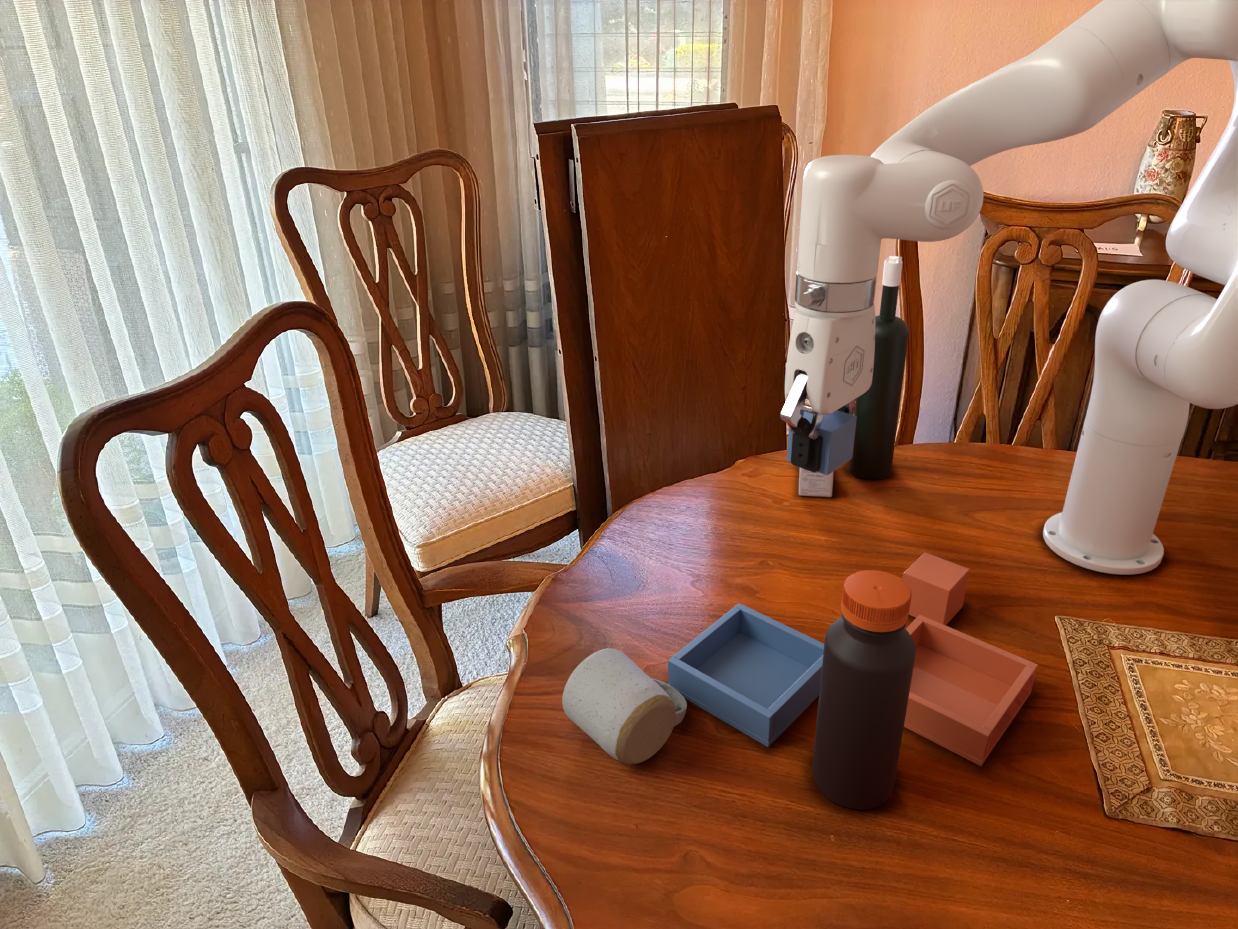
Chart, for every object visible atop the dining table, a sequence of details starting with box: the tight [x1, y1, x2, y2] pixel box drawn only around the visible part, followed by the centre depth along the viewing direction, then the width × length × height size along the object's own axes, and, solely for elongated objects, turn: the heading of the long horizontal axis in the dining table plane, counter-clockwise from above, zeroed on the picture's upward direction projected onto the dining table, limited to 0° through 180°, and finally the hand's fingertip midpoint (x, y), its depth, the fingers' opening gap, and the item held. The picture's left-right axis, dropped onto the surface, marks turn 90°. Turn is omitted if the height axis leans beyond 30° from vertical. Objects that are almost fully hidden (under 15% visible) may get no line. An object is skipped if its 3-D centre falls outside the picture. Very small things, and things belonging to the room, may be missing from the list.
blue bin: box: [667, 602, 824, 748], centre depth 83 cm, size 12×12×4 cm
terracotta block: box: [902, 551, 970, 626], centre depth 91 cm, size 5×5×5 cm
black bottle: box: [811, 569, 916, 810], centre depth 68 cm, size 7×7×20 cm
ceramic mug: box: [561, 647, 688, 766], centre depth 77 cm, size 11×8×8 cm
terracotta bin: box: [904, 615, 1039, 767], centre depth 80 cm, size 12×12×4 cm
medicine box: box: [798, 467, 835, 498], centre depth 115 cm, size 8×4×9 cm, turn 168°
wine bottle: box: [848, 255, 910, 481], centre depth 113 cm, size 6×6×30 cm
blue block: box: [786, 410, 857, 475], centre depth 90 cm, size 5×5×5 cm
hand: (820, 456), depth 91 cm, fingers closed on blue block, 5 cm apart
